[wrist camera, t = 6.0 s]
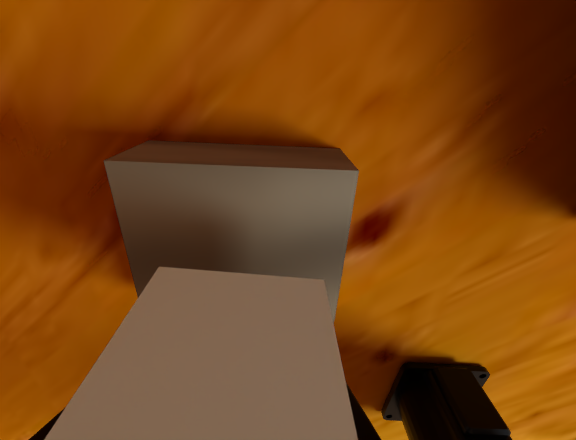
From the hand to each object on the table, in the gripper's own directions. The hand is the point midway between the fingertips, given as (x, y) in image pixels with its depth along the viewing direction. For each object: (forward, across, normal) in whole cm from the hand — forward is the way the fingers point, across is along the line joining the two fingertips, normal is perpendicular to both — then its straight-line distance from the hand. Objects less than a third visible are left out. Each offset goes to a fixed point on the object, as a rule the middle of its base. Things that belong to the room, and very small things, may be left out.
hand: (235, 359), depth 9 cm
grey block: (+8, 0, 0) cm, 8 cm away
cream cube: (+1, 0, 0) cm, 1 cm away
